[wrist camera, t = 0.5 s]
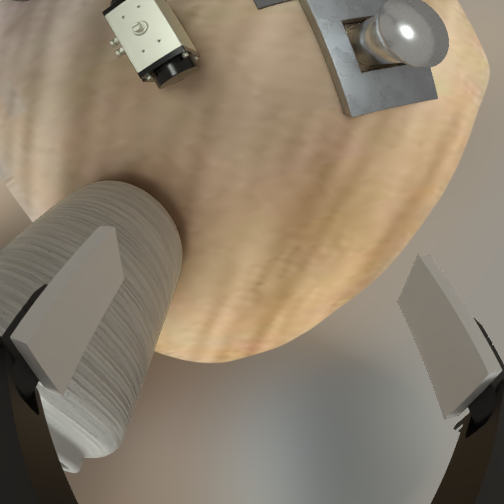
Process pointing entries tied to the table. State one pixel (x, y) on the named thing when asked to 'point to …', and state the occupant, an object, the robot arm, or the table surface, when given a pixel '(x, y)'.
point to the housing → (346, 66)
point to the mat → (267, 3)
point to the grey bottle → (401, 36)
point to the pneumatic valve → (152, 40)
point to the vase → (114, 319)
